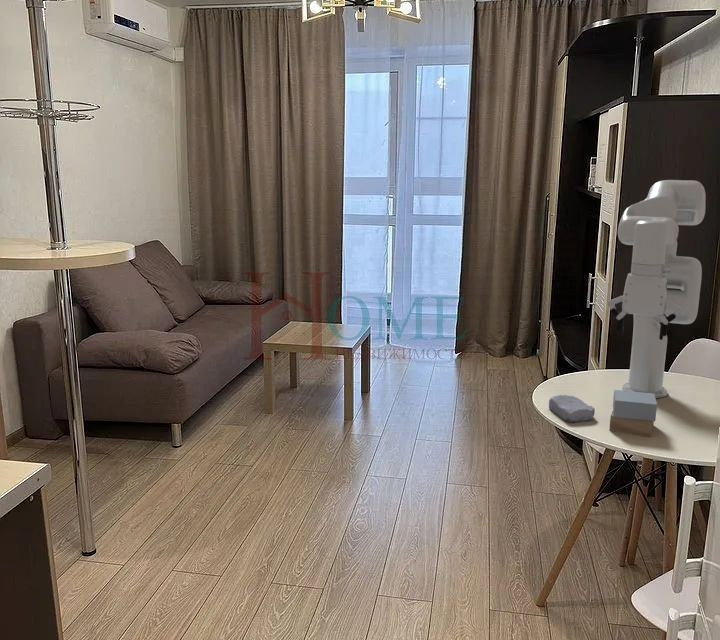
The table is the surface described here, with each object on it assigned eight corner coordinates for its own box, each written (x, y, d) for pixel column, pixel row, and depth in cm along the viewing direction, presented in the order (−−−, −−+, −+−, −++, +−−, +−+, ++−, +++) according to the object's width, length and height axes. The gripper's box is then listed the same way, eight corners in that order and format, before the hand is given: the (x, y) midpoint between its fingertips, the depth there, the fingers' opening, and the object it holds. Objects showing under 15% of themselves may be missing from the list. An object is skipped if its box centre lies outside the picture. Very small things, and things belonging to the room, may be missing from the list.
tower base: (613, 420, 191) (615, 405, 190) (653, 427, 186) (654, 411, 185) (609, 431, 183) (610, 415, 182) (650, 438, 179) (652, 422, 178)
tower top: (612, 405, 189) (614, 389, 188) (652, 409, 186) (654, 393, 185) (613, 416, 181) (615, 400, 180) (655, 421, 178) (657, 404, 177)
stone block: (575, 411, 201) (544, 407, 199) (579, 395, 200) (548, 391, 198) (597, 427, 190) (565, 424, 187) (602, 411, 189) (569, 407, 186)
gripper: (686, 270, 174) (678, 336, 178) (612, 265, 182) (607, 329, 186) (684, 275, 168) (676, 344, 172) (608, 269, 176) (603, 335, 180)
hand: (640, 336), depth 179 cm, fingers open, 9 cm apart
